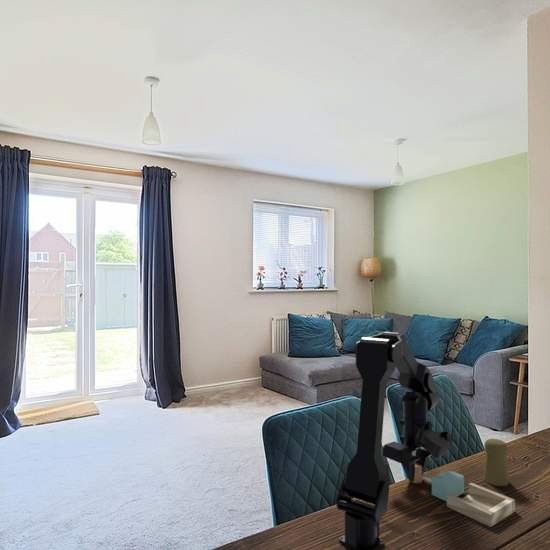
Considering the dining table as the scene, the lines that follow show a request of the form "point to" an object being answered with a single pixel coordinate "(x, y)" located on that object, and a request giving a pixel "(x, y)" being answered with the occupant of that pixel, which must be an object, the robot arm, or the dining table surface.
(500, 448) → the cork
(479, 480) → the dining table surface
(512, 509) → the lane
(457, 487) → the lever with tan knob
